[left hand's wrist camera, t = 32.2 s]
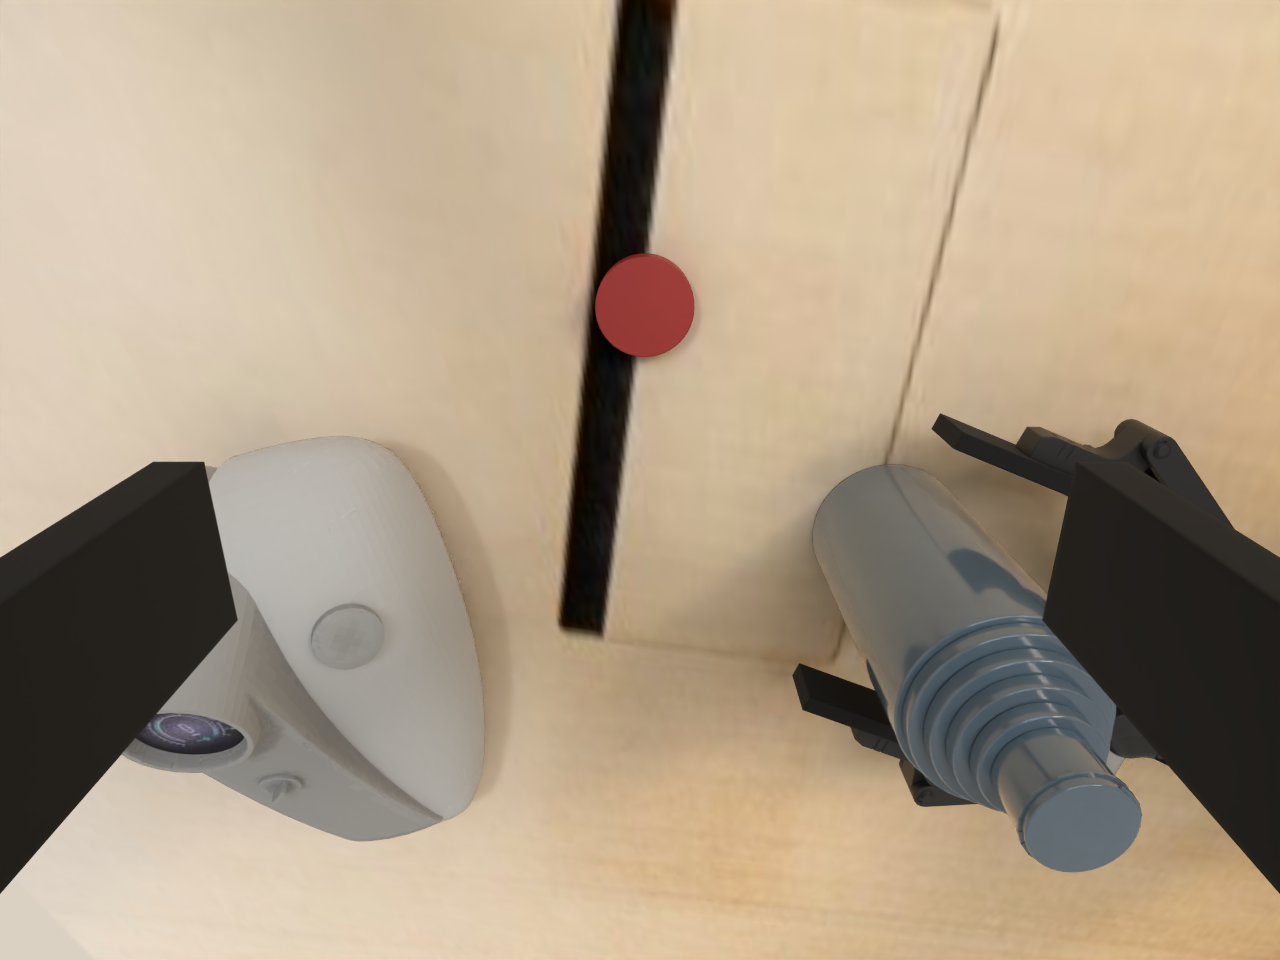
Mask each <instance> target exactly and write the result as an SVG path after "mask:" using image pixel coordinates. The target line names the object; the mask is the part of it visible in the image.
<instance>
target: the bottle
mask: <svg viewBox="0 0 1280 960" xmlns="http://www.w3.org/2000/svg"><path fill="white" fill-rule="evenodd" d="M813 548H814V552H815V556H816V558H817V560H818V563H819V565H820V567H821V569H822V572H823V574H824V576H825V578H826V581H827V583H828V585H829V587H830V590H831V592H832V594H833V596H834V599H835V601H836V603H837V605H838V608H839V610H840V612H841V614H842V617H843V619H844V621H845V623H846V626H847V628H848V630H849V632H850V635H851V637H852V639H853V641H854V644H855V646H856V648H857V650H858V653H859V655H860V657H861V659H862V662H863V664H864V666H865V668H866V671H867V673H868V675H869V677H870V680H871V682H872V684H873V686H874V689H875V691H876V693H877V695H878V698H879V700H880V702H881V704H882V707H883V709H884V711H885V713H886V716H887V718H888V720H889V722H890V725H891V727H892V729H893V731H894V734H895V736H896V738H897V740H898V743H899V745H900V747H901V749H902V751H903V753H904V754H905V756H906V757H907V759H908V760H909V761H910V762H911V763H912V765H913V766H914V767H915V768H916V769H917V770H919V771H920V772H921V773H922V774H923V775H925V776H926V777H927V778H928V779H929V780H930V781H931V782H932V783H934V784H935V785H936V786H938V787H939V788H941V789H942V790H944V791H946V792H947V793H950V794H952V795H954V796H956V797H959V798H962V799H966V800H969V801H971V802H974V803H977V804H980V805H984V806H986V807H988V808H991V809H994V810H997V811H1002V812H1004V813H1006V814H1008V815H1009V817H1010V819H1011V821H1012V822H1013V824H1014V826H1015V828H1016V831H1017V834H1018V838H1019V841H1020V843H1021V845H1022V846H1023V848H1024V849H1025V850H1026V852H1027V853H1028V854H1029V855H1030V856H1032V857H1033V858H1034V859H1036V860H1037V861H1038V862H1039V863H1041V864H1043V865H1044V866H1046V867H1048V868H1051V869H1054V870H1057V871H1063V872H1082V871H1088V870H1093V869H1096V868H1099V867H1101V866H1104V865H1106V864H1108V863H1110V862H1112V861H1114V860H1115V859H1117V858H1118V857H1119V856H1121V855H1122V854H1123V853H1124V852H1125V851H1126V850H1127V849H1128V848H1129V847H1130V846H1131V844H1132V843H1133V842H1134V840H1135V838H1136V836H1137V834H1138V831H1139V828H1140V824H1141V816H1142V813H1141V809H1140V804H1139V802H1138V801H1137V799H1136V798H1135V796H1134V794H1133V793H1132V792H1131V791H1130V790H1129V788H1128V787H1127V785H1126V784H1125V783H1123V782H1122V781H1121V780H1120V779H1118V778H1117V777H1116V776H1114V774H1113V773H1112V772H1111V770H1110V769H1109V768H1108V767H1107V765H1106V764H1107V757H1108V755H1109V750H1110V741H1111V737H1112V732H1113V726H1114V722H1115V717H1116V705H1115V704H1114V702H1113V701H1112V700H1111V699H1110V698H1109V697H1108V695H1107V694H1106V693H1105V692H1104V691H1103V690H1102V689H1101V687H1100V686H1099V685H1098V684H1097V683H1096V682H1095V680H1094V679H1093V678H1092V677H1091V676H1090V675H1089V674H1088V672H1087V671H1086V670H1085V669H1084V668H1083V667H1082V666H1081V664H1080V663H1079V662H1078V661H1077V660H1076V659H1075V657H1074V656H1073V655H1072V654H1071V653H1070V652H1069V651H1068V649H1067V648H1066V647H1065V646H1064V645H1063V644H1062V643H1061V641H1060V640H1059V639H1058V638H1057V637H1056V636H1055V634H1054V633H1053V632H1052V631H1051V630H1050V629H1049V628H1048V626H1047V625H1046V624H1045V623H1044V622H1043V621H1042V618H1043V614H1044V609H1045V604H1046V600H1047V594H1046V593H1045V591H1044V590H1043V589H1042V588H1041V587H1040V586H1039V585H1038V584H1037V583H1036V582H1035V581H1034V580H1033V579H1032V578H1031V577H1030V576H1029V575H1028V574H1027V573H1026V571H1025V570H1024V569H1023V568H1022V567H1021V566H1020V565H1019V564H1018V563H1017V562H1016V561H1015V560H1014V559H1013V558H1012V557H1011V556H1010V555H1009V554H1008V553H1007V552H1006V550H1005V549H1004V548H1003V547H1002V546H1001V545H1000V544H999V543H998V542H997V541H996V540H995V539H994V538H993V537H992V536H991V535H990V534H989V533H988V532H987V530H986V529H985V528H984V527H983V526H982V525H981V524H980V523H979V522H978V521H977V520H976V519H975V518H974V517H973V516H972V515H971V514H970V513H969V512H968V510H967V509H966V508H965V507H964V506H963V505H962V504H961V503H960V502H959V501H958V500H957V499H956V498H955V497H954V496H953V495H952V494H951V493H950V492H949V490H948V489H947V488H946V487H945V486H944V485H943V484H942V483H941V482H940V481H939V480H937V479H936V478H935V477H933V476H932V475H931V474H929V473H927V472H925V471H923V470H920V469H918V468H915V467H911V466H906V465H897V464H890V465H880V466H874V467H871V468H867V469H864V470H862V471H859V472H857V473H855V474H853V475H851V476H850V477H848V478H846V479H845V480H844V481H842V482H841V483H840V484H838V485H837V486H836V487H835V488H834V489H833V490H832V491H831V492H830V494H829V495H828V496H827V497H826V499H825V500H824V502H823V503H822V505H821V507H820V509H819V511H818V513H817V516H816V519H815V522H814V527H813Z"/></svg>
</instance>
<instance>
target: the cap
mask: <svg viewBox="0 0 1280 960" xmlns="http://www.w3.org/2000/svg"><path fill="white" fill-rule="evenodd" d="M595 311H596V318H597V322H598V324H599V327H600V329H601V331H602V333H603V334H604V336H605V337H606V339H607V340H608V341H609V342H610V343H611V344H612V345H613V346H615V347H616V348H617V349H619V350H621V351H623V352H625V353H627V354H630V355H633V356H639V357H650V356H656V355H660V354H663V353H665V352H667V351H669V350H671V349H672V348H674V347H675V346H676V345H677V344H678V343H680V341H681V340H682V339H683V338H684V337H685V335H686V334H687V332H688V330H689V328H690V326H691V323H692V321H693V316H694V298H693V293H692V290H691V287H690V285H689V282H688V280H687V278H686V277H685V275H684V273H683V272H682V271H681V270H680V269H679V267H677V266H676V265H675V264H674V263H673V262H671V261H670V260H668V259H666V258H664V257H661V256H658V255H654V254H645V253H644V254H635V255H631V256H628V257H626V258H624V259H622V260H620V261H619V262H617V263H616V264H615V265H613V266H612V267H611V268H610V269H609V271H608V272H607V273H606V275H605V276H604V278H603V280H602V282H601V284H600V286H599V289H598V292H597V296H596V302H595Z"/></svg>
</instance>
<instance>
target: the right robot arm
mask: <svg viewBox="0 0 1280 960" xmlns="http://www.w3.org/2000/svg"><path fill="white" fill-rule="evenodd" d="M932 430H933V431H935V432H936V433H937V434H938V435H939V436H940V437H941V438H942V439H943V440H945V441H946V442H947V443H948V444H949V445H950V446H951V447H952V448H954V449H955V450H958V451H960V452H963V453H965V454H967V455H970V456H972V457H975V458H977V459H980V460H982V461H984V462H987V463H989V464H992V465H994V466H997V467H999V468H1001V469H1004V470H1006V471H1009V472H1011V473H1014V474H1016V475H1018V476H1021V477H1023V478H1026V479H1028V480H1031V481H1033V482H1035V483H1038V484H1040V485H1043V486H1045V487H1047V488H1050V489H1052V490H1055V491H1057V492H1060V493H1062V494H1064V495H1067V496H1069V492H1070V487H1071V482H1072V478H1073V473H1074V468H1075V464H1076V462H1128V463H1129V464H1131V465H1132V466H1134V467H1136V468H1137V469H1139V470H1140V471H1142V472H1144V473H1145V474H1147V475H1148V476H1150V477H1152V478H1153V479H1155V480H1156V481H1158V482H1160V483H1161V484H1163V485H1164V486H1166V487H1168V488H1169V489H1171V490H1172V491H1174V492H1176V493H1177V494H1179V495H1180V496H1182V497H1184V498H1185V499H1187V500H1188V501H1190V502H1192V503H1193V504H1195V505H1196V506H1198V507H1200V508H1201V509H1203V510H1204V511H1206V512H1208V513H1209V514H1211V515H1212V516H1214V517H1216V518H1217V519H1219V520H1220V521H1222V522H1224V523H1225V524H1227V525H1228V526H1230V527H1232V528H1233V526H1232V525H1231V523H1230V522H1229V520H1228V519H1227V517H1226V516H1225V514H1224V513H1223V511H1222V510H1221V508H1220V507H1219V505H1218V504H1217V502H1216V501H1215V499H1214V498H1213V496H1212V495H1211V493H1210V492H1209V490H1208V489H1207V487H1206V486H1205V484H1204V483H1203V481H1202V480H1201V479H1200V477H1199V476H1198V474H1197V473H1196V471H1195V470H1194V468H1193V467H1192V465H1191V464H1190V462H1189V461H1188V459H1187V458H1186V456H1185V455H1184V453H1183V452H1182V450H1181V449H1180V447H1179V446H1178V444H1177V443H1176V441H1175V440H1173V439H1172V438H1171V437H1169V436H1167V435H1165V434H1163V433H1161V432H1159V431H1157V430H1155V429H1153V428H1151V427H1149V426H1147V425H1145V424H1143V423H1141V422H1139V421H1137V420H1134V419H1129V420H1125V421H1123V422H1121V423H1120V424H1119V425H1118V426H1117V428H1116V430H1115V433H1114V438H1113V439H1112V440H1111V441H1109V442H1108V443H1107V444H1105V445H1104V446H1101V447H1098V448H1094V447H1092V446H1090V445H1081V444H1079V443H1076V442H1074V441H1072V440H1069V439H1067V438H1065V437H1062V436H1060V435H1057V434H1055V433H1052V432H1050V431H1048V430H1046V429H1043V428H1041V427H1027V428H1026V429H1025V431H1024V433H1023V434H1022V436H1021V438H1020V439H1019V441H1018V442H1017V444H1016V445H1015V444H1012V443H1010V442H1008V441H1005V440H1003V439H1000V438H998V437H996V436H993V435H991V434H988V433H986V432H984V431H981V430H979V429H976V428H974V427H972V426H969V425H967V424H965V423H962V422H960V421H957V420H955V419H953V418H950V417H948V416H945V415H943V414H941V413H940V415H939V417H938V418H937V420H936V422H935V424H934V425H933V427H932ZM1233 529H1234V528H1233ZM793 679H794V682H795V686H796V689H797V692H798V696H799V699H800V702H801V706H802V709H803V710H804V711H807V712H810V713H813V714H816V715H819V716H821V717H824V718H827V719H830V720H833V721H836V722H838V723H841V724H844V725H847V726H850V727H851V730H852V732H853V735H854V738H855V740H857V741H858V742H859V743H860V744H861V745H862V746H865V747H868V748H870V749H874V750H876V751H879V752H880V751H881V752H882V753H885V754H888V755H890V756H893V757H896V758H899V759H900V762H899V765H900V769H901V771H902V773H903V776H904V778H905V780H906V782H907V785H908V787H909V789H910V792H911V794H912V796H913V799H914V801H915V802H916V804H918V805H920V806H924V807H929V806H947V805H965V804H977V803H974V802H971V801H969V800H966V799H962V798H959V797H956V796H954V795H952V794H950V793H947V792H946V791H944V790H942V789H941V788H939V787H938V786H936V785H935V784H934V783H932V782H931V781H930V780H929V779H928V778H927V777H926V776H925V775H923V774H922V773H921V772H920V771H919V770H917V769H916V768H915V767H914V766H913V765H912V763H911V762H910V761H909V760H908V759H907V757H906V756H905V754H904V753H903V751H902V749H901V747H900V745H899V743H898V740H897V738H896V736H895V734H894V731H893V729H892V727H891V725H890V722H889V720H888V718H887V716H886V713H885V711H884V709H883V707H882V704H881V702H880V700H879V698H878V695H877V693H876V691H875V690H872V689H869V688H866V687H863V686H861V685H858V684H855V683H852V682H850V681H847V680H844V679H841V678H839V677H836V676H833V675H830V674H828V673H825V672H822V671H819V670H816V669H814V668H811V667H808V666H805V665H803V664H800V663H799V665H798V667H797V668H796V670H795V672H794V674H793ZM1139 757H1147V758H1153V759H1155V760H1158V761H1160V762H1162V763H1164V764H1166V765H1167V763H1166V762H1165V761H1164V760H1163V759H1162V758H1161V756H1160V755H1159V754H1158V753H1157V752H1156V751H1155V750H1154V748H1153V747H1152V746H1151V745H1150V744H1149V743H1148V741H1147V740H1146V739H1145V738H1144V737H1143V736H1142V735H1141V733H1140V732H1139V731H1138V730H1137V729H1136V728H1135V727H1134V725H1133V724H1132V723H1131V722H1130V721H1129V720H1128V718H1127V717H1126V716H1125V715H1124V714H1123V713H1122V712H1121V710H1120V709H1119V708H1118V707H1117V706H1116V717H1115V722H1114V726H1113V732H1112V737H1111V741H1110V750H1109V755H1108V757H1107V764H1106V765H1107V767H1108V768H1109V769H1110V770H1111V772H1112V773H1113V774H1114V775H1115V774H1116V772H1117V770H1118V769H1119V767H1120V765H1121V764H1122V762H1123V761H1124V759H1125V758H1139Z"/></svg>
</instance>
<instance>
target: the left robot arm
mask: <svg viewBox="0 0 1280 960" xmlns="http://www.w3.org/2000/svg"><path fill="white" fill-rule="evenodd" d="M237 621H238V618H237V614H236V609H235V604H234V600H233V595H232V590H231V586H230V581H229V576H228V571H227V567H226V562H225V557H224V553H223V548H222V543H221V539H220V534H219V529H218V525H217V520H216V515H215V510H214V506H213V501H212V496H211V492H210V487H209V482H208V478H207V473H206V468H205V464H204V462H152V463H151V464H149V465H148V466H146V467H144V468H143V469H141V470H140V471H138V472H136V473H135V474H133V475H132V476H130V477H128V478H127V479H125V480H124V481H122V482H120V483H119V484H117V485H116V486H114V487H112V488H111V489H109V490H108V491H106V492H104V493H103V494H101V495H100V496H98V497H96V498H95V499H93V500H92V501H90V502H88V503H87V504H85V505H84V506H82V507H80V508H79V509H77V510H76V511H74V512H72V513H71V514H69V515H68V516H66V517H64V518H63V519H61V520H60V521H58V522H56V523H55V524H53V525H52V526H50V527H48V528H47V529H45V530H44V531H42V532H40V533H39V534H37V535H36V536H34V537H32V538H31V539H29V540H28V541H26V542H24V543H23V544H21V545H20V546H18V547H16V548H15V549H13V550H12V551H10V552H8V553H7V554H5V555H4V556H2V557H0V893H1V892H2V891H3V890H4V889H5V888H6V886H7V885H8V884H9V883H10V882H11V881H12V880H13V878H14V877H15V876H16V875H17V874H18V873H19V872H20V870H21V869H22V868H23V867H24V866H25V865H26V863H27V862H28V861H29V860H30V859H31V858H32V857H33V855H34V854H35V853H36V852H37V851H38V850H39V849H40V847H41V846H42V845H43V844H44V843H45V842H46V840H47V839H48V838H49V837H50V836H51V835H52V834H53V832H54V831H55V830H56V829H57V828H58V827H59V825H60V824H61V823H62V822H63V821H64V820H65V819H66V817H67V816H68V815H69V814H70V813H71V812H72V811H73V809H74V808H75V807H76V806H77V805H78V804H79V802H80V801H81V800H82V799H83V798H84V797H85V796H86V794H87V793H88V792H89V791H90V790H91V789H92V788H93V786H94V785H95V784H96V783H97V782H98V781H99V779H100V778H101V777H102V776H103V775H104V774H105V773H106V771H107V770H108V769H109V768H110V767H111V766H112V764H113V763H114V762H115V761H116V760H117V759H118V758H119V756H120V755H121V754H122V753H123V752H124V751H125V750H126V748H127V747H128V746H129V745H130V744H131V743H132V741H133V740H134V739H135V738H136V737H137V736H138V735H139V733H140V732H141V731H142V730H143V729H144V728H145V727H146V725H147V724H148V723H149V722H150V721H151V720H152V718H153V717H154V716H155V715H156V714H157V713H158V712H159V710H160V709H161V708H162V707H163V706H164V705H165V704H166V702H167V701H168V700H169V699H170V698H171V697H172V695H173V694H174V693H175V692H176V691H177V690H178V689H179V687H180V686H181V685H182V684H183V683H184V682H185V680H186V679H187V678H188V677H189V676H190V675H191V674H192V672H193V671H194V670H195V669H196V668H197V667H198V666H199V664H200V663H201V662H202V661H203V660H204V659H205V657H206V656H207V655H208V654H209V653H210V652H211V651H212V649H213V648H214V647H215V646H216V645H217V644H218V643H219V641H220V640H221V639H222V638H223V637H224V636H225V634H226V633H227V632H228V631H229V630H230V629H231V628H232V626H233V625H234V624H235V623H236V622H237ZM1042 621H1043V622H1044V623H1045V624H1046V625H1047V626H1048V628H1049V629H1050V630H1051V631H1052V632H1053V633H1054V634H1055V636H1056V637H1057V638H1058V639H1059V640H1060V641H1061V643H1062V644H1063V645H1064V646H1065V647H1066V648H1067V649H1068V651H1069V652H1070V653H1071V654H1072V655H1073V656H1074V657H1075V659H1076V660H1077V661H1078V662H1079V663H1080V664H1081V666H1082V667H1083V668H1084V669H1085V670H1086V671H1087V672H1088V674H1089V675H1090V676H1091V677H1092V678H1093V679H1094V680H1095V682H1096V683H1097V684H1098V685H1099V686H1100V687H1101V689H1102V690H1103V691H1104V692H1105V693H1106V694H1107V695H1108V697H1109V698H1110V699H1111V700H1112V701H1113V702H1114V704H1115V705H1116V706H1117V707H1118V708H1119V709H1120V710H1121V712H1122V713H1123V714H1124V715H1125V716H1126V717H1127V718H1128V720H1129V721H1130V722H1131V723H1132V724H1133V725H1134V727H1135V728H1136V729H1137V730H1138V731H1139V732H1140V733H1141V735H1142V736H1143V737H1144V738H1145V739H1146V740H1147V741H1148V743H1149V744H1150V745H1151V746H1152V747H1153V748H1154V750H1155V751H1156V752H1157V753H1158V754H1159V755H1160V756H1161V758H1162V759H1163V760H1164V761H1165V762H1166V763H1167V765H1168V766H1169V767H1170V768H1171V769H1172V770H1173V771H1174V773H1175V774H1176V775H1177V776H1178V777H1179V778H1180V779H1181V781H1182V782H1183V783H1184V784H1185V785H1186V786H1187V788H1188V789H1189V790H1190V791H1191V792H1192V793H1193V794H1194V796H1195V797H1196V798H1197V799H1198V800H1199V801H1200V802H1201V804H1202V805H1203V806H1204V807H1205V808H1206V809H1207V811H1208V812H1209V813H1210V814H1211V815H1212V816H1213V817H1214V819H1215V820H1216V821H1217V822H1218V823H1219V824H1220V825H1221V827H1222V828H1223V829H1224V830H1225V831H1226V832H1227V834H1228V835H1229V836H1230V837H1231V838H1232V839H1233V840H1234V842H1235V843H1236V844H1237V845H1238V846H1239V847H1240V849H1241V850H1242V851H1243V852H1244V853H1245V854H1246V855H1247V857H1248V858H1249V859H1250V860H1251V861H1252V862H1253V863H1254V865H1255V866H1256V867H1257V868H1258V869H1259V870H1260V872H1261V873H1262V874H1263V875H1264V876H1265V877H1266V878H1267V880H1268V881H1269V882H1270V883H1271V884H1272V885H1273V886H1274V888H1275V889H1276V890H1277V891H1278V892H1279V893H1280V557H1278V556H1276V555H1275V554H1273V553H1272V552H1270V551H1268V550H1267V549H1265V548H1264V547H1262V546H1260V545H1259V544H1257V543H1256V542H1254V541H1252V540H1251V539H1249V538H1248V537H1246V536H1244V535H1243V534H1241V533H1240V532H1238V531H1236V530H1235V529H1233V528H1232V527H1230V526H1228V525H1227V524H1225V523H1224V522H1222V521H1220V520H1219V519H1217V518H1216V517H1214V516H1212V515H1211V514H1209V513H1208V512H1206V511H1204V510H1203V509H1201V508H1200V507H1198V506H1196V505H1195V504H1193V503H1192V502H1190V501H1188V500H1187V499H1185V498H1184V497H1182V496H1180V495H1179V494H1177V493H1176V492H1174V491H1172V490H1171V489H1169V488H1168V487H1166V486H1164V485H1163V484H1161V483H1160V482H1158V481H1156V480H1155V479H1153V478H1152V477H1150V476H1148V475H1147V474H1145V473H1144V472H1142V471H1140V470H1139V469H1137V468H1136V467H1134V466H1132V465H1131V464H1129V463H1128V462H1076V464H1075V468H1074V473H1073V478H1072V482H1071V487H1070V492H1069V496H1068V501H1067V506H1066V510H1065V515H1064V520H1063V525H1062V529H1061V534H1060V539H1059V543H1058V548H1057V553H1056V557H1055V562H1054V567H1053V571H1052V576H1051V581H1050V586H1049V590H1048V595H1047V600H1046V604H1045V609H1044V614H1043V618H1042Z"/></svg>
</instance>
